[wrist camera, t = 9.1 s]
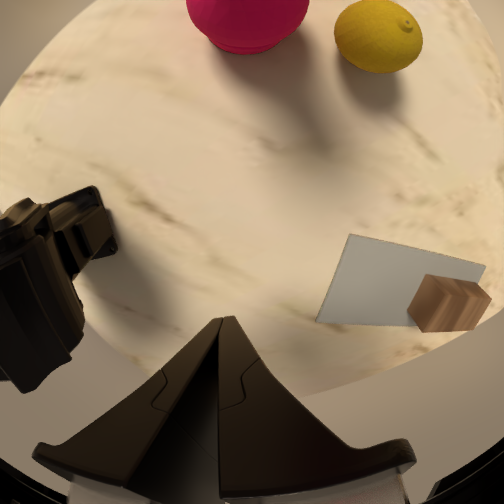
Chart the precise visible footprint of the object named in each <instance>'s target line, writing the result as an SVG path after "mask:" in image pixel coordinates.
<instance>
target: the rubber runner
mask: <svg viewBox="0 0 504 504" xmlns="http://www.w3.org/2000/svg"><path fill="white" fill-rule="evenodd" d="M485 268H486V266H485V265H481V264H478V263H474V262H470V261H466V260H462V259H458V258H455V257H451V256H447V255H443V254H439V253H434V252H430V251H426V250H422V249H418V248H413V247H409V246H405V245H400V244H396V243H392V242H387V241H382V240H378V239H373V238H369V237H364V236H359V235H354V234H349V236H348V239H347V242H346V244H345V247H344V250H343V253H342V255H341V258H340V261H339V264H338V266H337V269H336V271H335V274H334V277H333V279H332V282H331V284H330V287H329V289H328V292H327V294H326V297H325V299H324V302H323V304H322V306H321V309H320V311H319V313H318V316H317V318H316V322H319V323H334V324H352V325H376V326H417V324H416V323H415V321H414V320H413V318H412V317H411V316H410V314H409V313H408V311H407V309H408V307H409V305H410V303H411V301H412V299H413V298H414V296H415V294H416V292H417V290H418V288H419V286H420V284H421V282H422V280H423V278H424V276H425V274H430V275H436V276H442V277H448V278H454V279H459V280H465V281H471V282H476V283H477V284H478V282H479V280H480V278H481V276H482V274H483V272H484V270H485Z"/></svg>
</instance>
